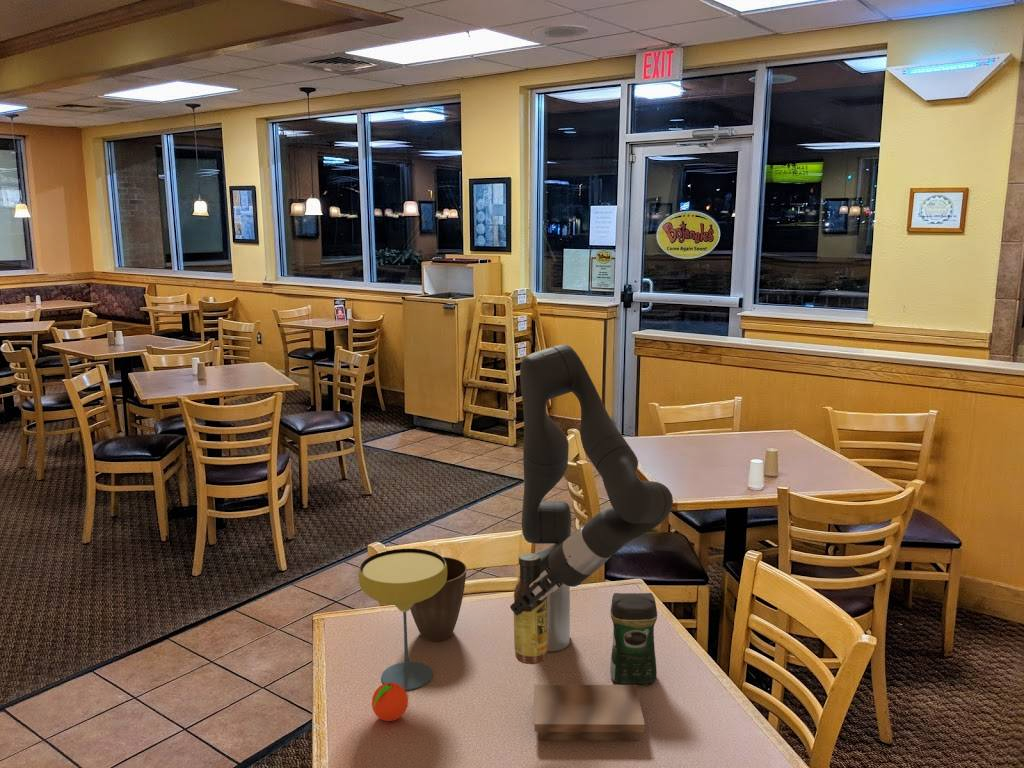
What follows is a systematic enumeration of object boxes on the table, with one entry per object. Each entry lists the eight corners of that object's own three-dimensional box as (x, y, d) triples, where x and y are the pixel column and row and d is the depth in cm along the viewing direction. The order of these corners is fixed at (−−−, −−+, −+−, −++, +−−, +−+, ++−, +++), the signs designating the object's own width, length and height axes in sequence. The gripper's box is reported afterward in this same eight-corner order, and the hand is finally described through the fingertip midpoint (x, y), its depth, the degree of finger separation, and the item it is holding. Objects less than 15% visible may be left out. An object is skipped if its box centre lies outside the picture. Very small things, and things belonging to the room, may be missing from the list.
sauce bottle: (544, 667, 148) (542, 565, 144) (511, 664, 149) (508, 563, 145) (551, 650, 154) (549, 551, 150) (518, 647, 155) (516, 549, 152)
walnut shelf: (534, 743, 148) (534, 724, 147) (534, 702, 160) (534, 684, 160) (644, 744, 147) (644, 724, 146) (635, 703, 160) (635, 684, 159)
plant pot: (407, 653, 179) (404, 586, 176) (400, 622, 194) (398, 560, 191) (473, 645, 183) (472, 579, 180) (461, 615, 197) (460, 553, 194)
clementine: (389, 736, 150) (387, 701, 149) (361, 724, 154) (359, 690, 153) (416, 714, 157) (414, 680, 156) (388, 703, 161) (387, 671, 159)
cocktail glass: (379, 710, 159) (374, 591, 154) (352, 667, 174) (347, 558, 170) (463, 685, 167) (461, 572, 162) (431, 646, 182) (427, 542, 178)
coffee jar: (653, 667, 173) (655, 586, 169) (658, 688, 165) (661, 603, 162) (607, 667, 173) (608, 586, 170) (611, 688, 165) (612, 603, 162)
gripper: (584, 525, 149) (529, 573, 158) (547, 551, 137) (490, 602, 145) (610, 558, 148) (553, 605, 156) (575, 587, 136) (515, 636, 144)
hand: (523, 603), depth 151 cm, fingers closed on sauce bottle, 6 cm apart
